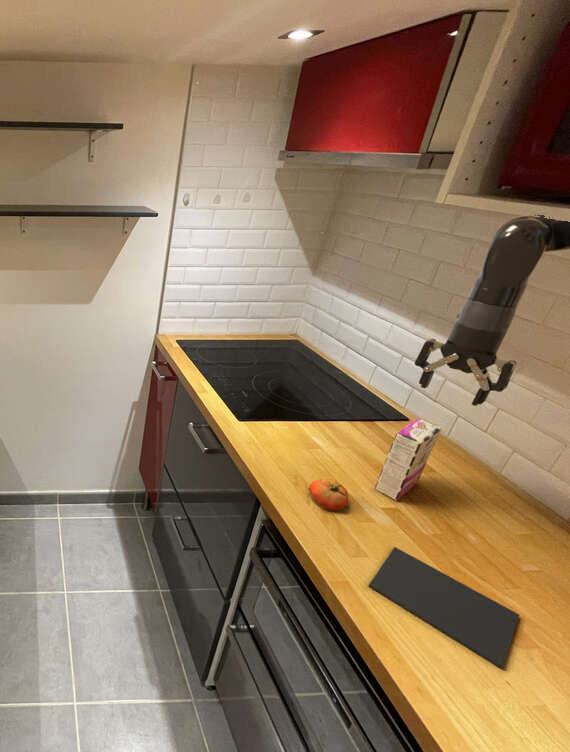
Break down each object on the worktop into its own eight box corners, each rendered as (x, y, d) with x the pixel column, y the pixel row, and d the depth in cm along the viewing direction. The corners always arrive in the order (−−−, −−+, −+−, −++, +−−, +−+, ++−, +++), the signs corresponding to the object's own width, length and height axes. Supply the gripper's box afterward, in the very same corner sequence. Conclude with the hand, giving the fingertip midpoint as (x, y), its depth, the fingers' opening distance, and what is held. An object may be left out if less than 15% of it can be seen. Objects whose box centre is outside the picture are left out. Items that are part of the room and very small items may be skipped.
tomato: (310, 503, 98) (319, 472, 100) (299, 502, 105) (307, 473, 106) (350, 518, 96) (358, 486, 98) (336, 517, 103) (344, 486, 104)
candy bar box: (393, 472, 111) (417, 417, 104) (417, 484, 107) (444, 427, 100) (371, 489, 105) (395, 431, 98) (396, 502, 101) (423, 442, 95)
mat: (517, 616, 76) (519, 614, 76) (501, 669, 69) (503, 667, 68) (393, 548, 89) (394, 546, 89) (368, 586, 81) (369, 584, 81)
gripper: (538, 331, 83) (499, 405, 90) (443, 309, 94) (415, 377, 101) (526, 339, 79) (487, 416, 86) (429, 315, 90) (401, 385, 97)
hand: (448, 395), depth 93 cm, fingers open, 8 cm apart
